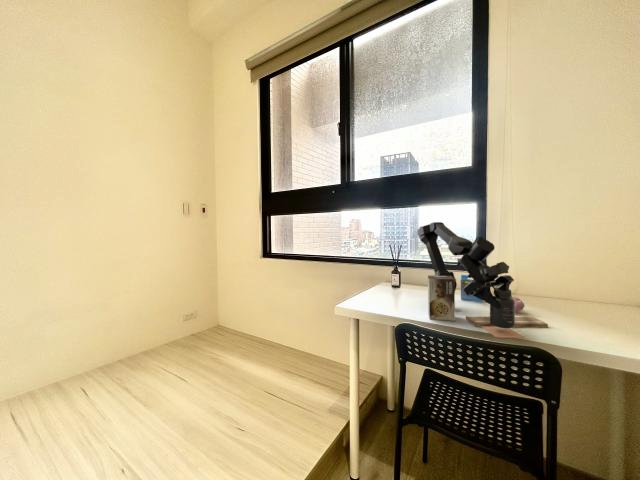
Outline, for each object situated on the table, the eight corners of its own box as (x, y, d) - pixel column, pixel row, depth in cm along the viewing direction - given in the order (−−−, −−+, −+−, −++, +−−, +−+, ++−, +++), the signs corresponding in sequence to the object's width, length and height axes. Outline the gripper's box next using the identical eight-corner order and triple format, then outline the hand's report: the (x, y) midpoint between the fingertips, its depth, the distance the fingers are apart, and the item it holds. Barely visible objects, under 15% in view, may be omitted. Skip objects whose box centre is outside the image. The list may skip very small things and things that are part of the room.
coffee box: (452, 315, 103) (452, 275, 102) (455, 321, 97) (455, 278, 96) (427, 313, 106) (427, 274, 105) (428, 319, 100) (428, 277, 99)
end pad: (496, 337, 83) (496, 336, 83) (481, 327, 91) (481, 326, 91) (524, 337, 82) (524, 337, 82) (507, 327, 90) (507, 326, 90)
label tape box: (483, 301, 121) (483, 275, 121) (481, 303, 118) (481, 276, 118) (462, 298, 127) (462, 273, 126) (460, 300, 124) (460, 274, 123)
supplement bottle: (484, 321, 90) (485, 287, 89) (503, 320, 90) (503, 286, 90) (500, 329, 83) (500, 292, 82) (520, 328, 83) (520, 291, 83)
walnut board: (474, 326, 92) (474, 322, 92) (465, 319, 99) (465, 316, 99) (547, 327, 89) (547, 323, 89) (533, 320, 96) (533, 316, 96)
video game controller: (520, 319, 102) (529, 303, 101) (508, 313, 103) (517, 298, 102) (507, 311, 112) (515, 296, 111) (496, 306, 112) (504, 291, 111)
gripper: (472, 256, 85) (506, 297, 76) (508, 252, 92) (544, 290, 83) (451, 275, 93) (480, 315, 83) (486, 271, 100) (517, 307, 91)
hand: (506, 306), depth 85 cm, fingers closed on supplement bottle, 7 cm apart
